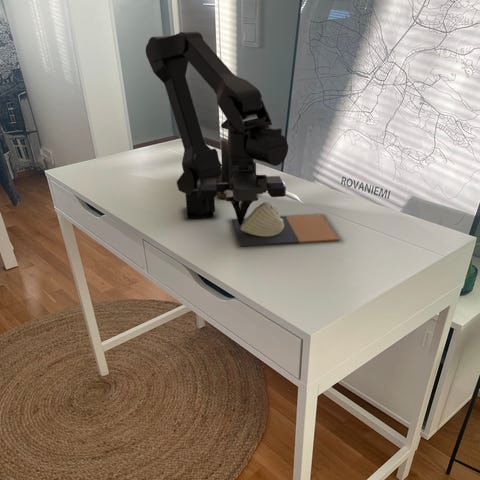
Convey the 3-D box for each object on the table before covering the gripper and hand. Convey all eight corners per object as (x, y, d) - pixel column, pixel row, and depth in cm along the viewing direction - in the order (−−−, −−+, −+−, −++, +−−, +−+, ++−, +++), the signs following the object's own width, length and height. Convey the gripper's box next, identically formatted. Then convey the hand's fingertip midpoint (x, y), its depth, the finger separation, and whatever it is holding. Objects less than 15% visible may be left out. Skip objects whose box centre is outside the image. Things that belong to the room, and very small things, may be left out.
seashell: (294, 225, 108) (270, 215, 102) (270, 250, 112) (245, 241, 107) (281, 200, 112) (257, 189, 106) (258, 225, 116) (234, 216, 111)
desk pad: (240, 246, 105) (240, 245, 105) (232, 220, 116) (232, 219, 116) (338, 240, 108) (339, 238, 107) (321, 215, 119) (321, 214, 119)
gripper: (198, 167, 93) (200, 241, 102) (294, 165, 95) (288, 238, 104) (195, 150, 102) (197, 220, 111) (282, 149, 104) (278, 217, 113)
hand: (240, 224), depth 110 cm, fingers closed
